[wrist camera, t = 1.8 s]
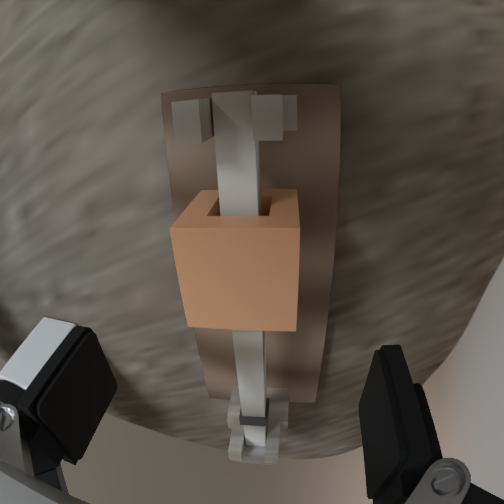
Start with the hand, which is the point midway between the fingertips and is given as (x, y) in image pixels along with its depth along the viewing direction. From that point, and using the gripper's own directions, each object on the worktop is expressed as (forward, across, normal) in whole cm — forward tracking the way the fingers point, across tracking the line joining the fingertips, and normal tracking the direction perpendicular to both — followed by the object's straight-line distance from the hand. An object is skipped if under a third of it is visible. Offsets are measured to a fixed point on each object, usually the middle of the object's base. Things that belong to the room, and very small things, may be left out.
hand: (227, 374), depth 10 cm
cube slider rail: (+13, 0, +4) cm, 13 cm away
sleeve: (+9, 0, -1) cm, 9 cm away
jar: (+13, +21, +14) cm, 29 cm away
